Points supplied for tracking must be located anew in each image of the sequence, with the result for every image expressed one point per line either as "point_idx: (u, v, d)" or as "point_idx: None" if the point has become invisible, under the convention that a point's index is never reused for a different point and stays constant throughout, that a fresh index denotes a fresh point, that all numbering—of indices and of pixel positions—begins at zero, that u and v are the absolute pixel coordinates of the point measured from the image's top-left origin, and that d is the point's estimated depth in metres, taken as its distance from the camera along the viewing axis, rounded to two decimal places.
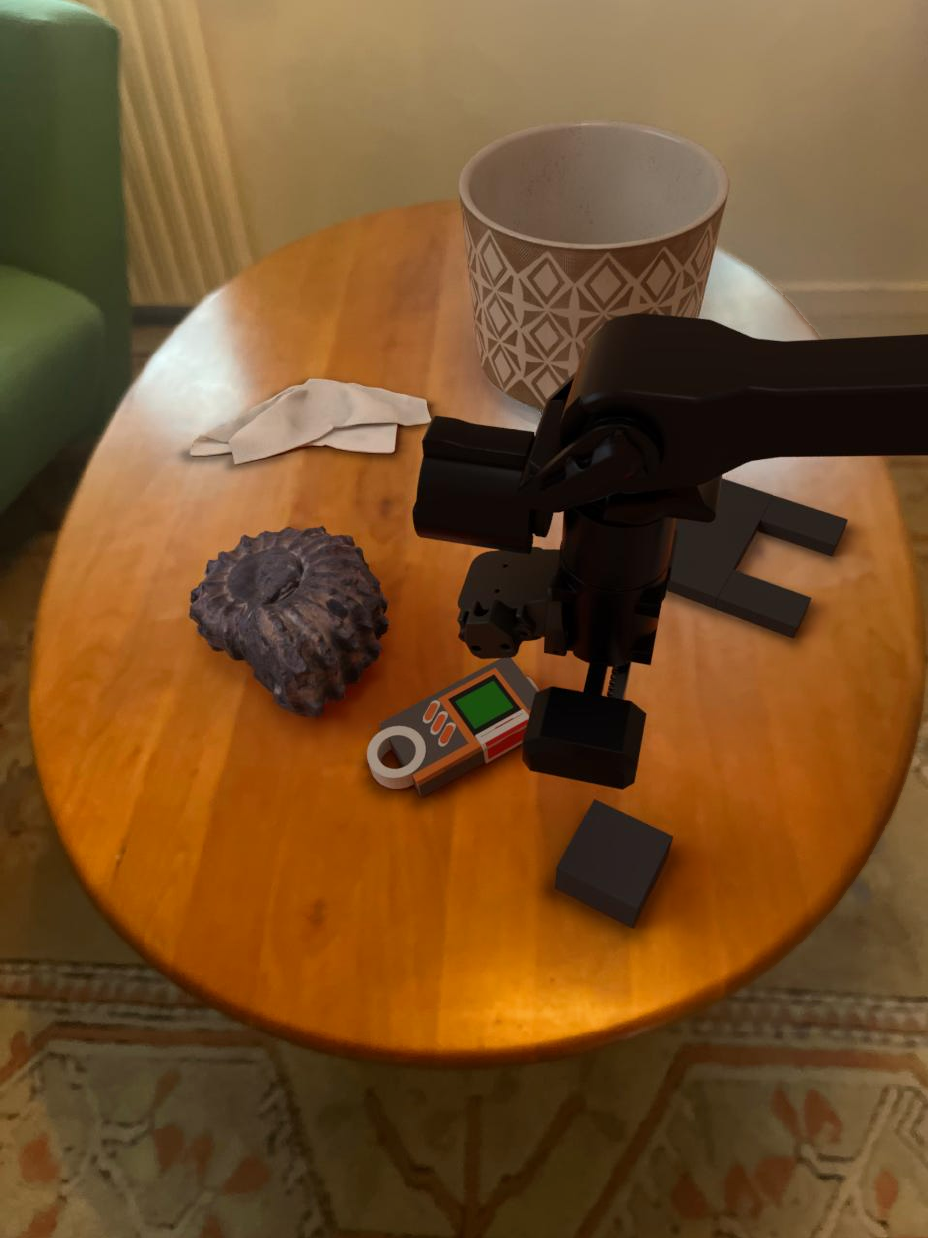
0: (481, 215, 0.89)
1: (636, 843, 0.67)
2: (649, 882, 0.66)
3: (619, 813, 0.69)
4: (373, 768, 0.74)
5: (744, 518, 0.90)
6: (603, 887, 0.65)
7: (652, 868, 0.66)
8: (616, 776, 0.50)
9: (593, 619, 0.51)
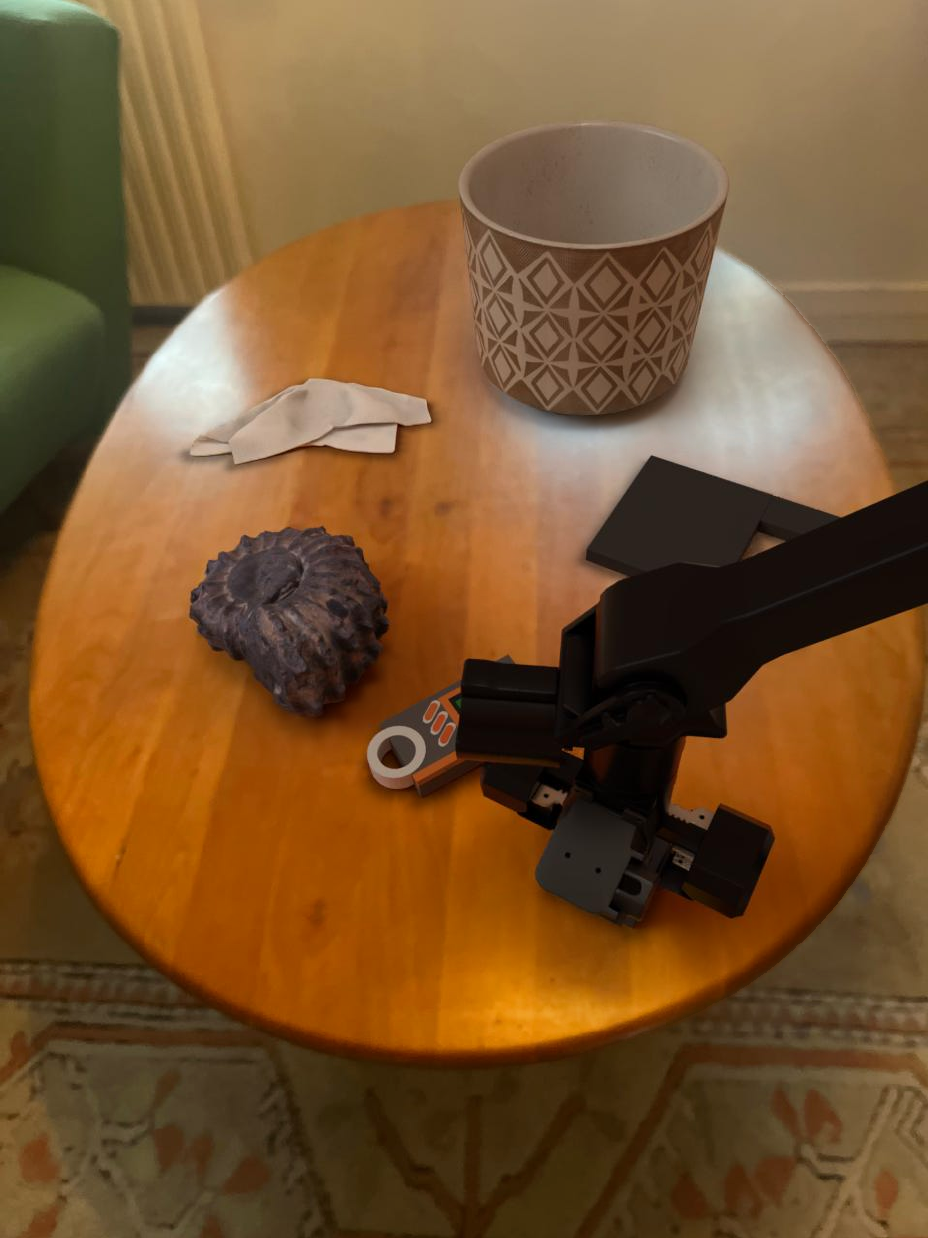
0: (481, 215, 0.89)
1: None
2: None
3: None
4: (373, 768, 0.74)
5: (744, 518, 0.90)
6: None
7: (652, 869, 0.66)
8: None
9: (667, 798, 0.58)
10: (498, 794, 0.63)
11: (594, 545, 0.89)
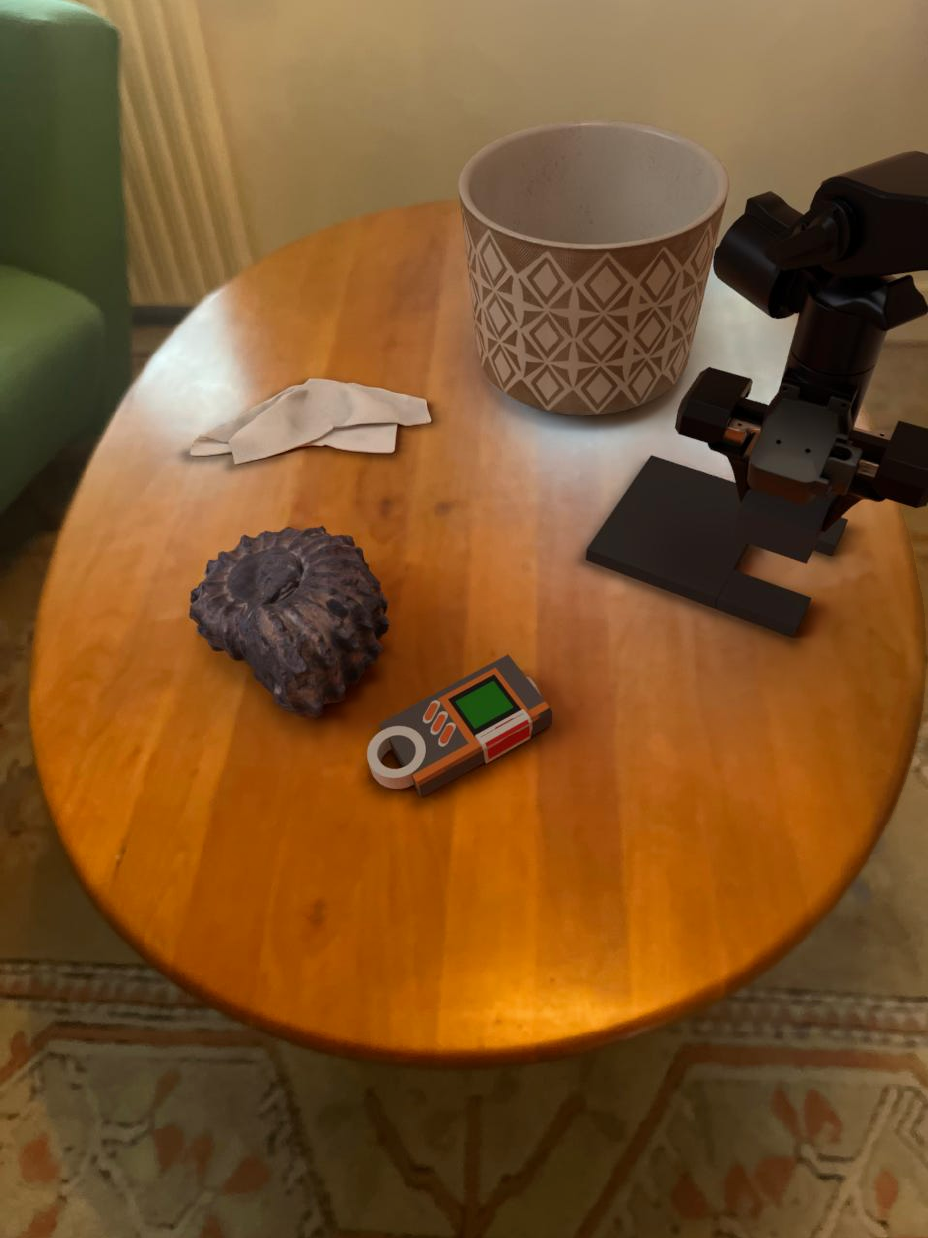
0: (481, 215, 0.89)
1: None
2: (824, 515, 0.73)
3: None
4: (373, 768, 0.74)
5: None
6: (783, 519, 0.73)
7: (825, 505, 0.74)
8: None
9: (863, 396, 0.65)
10: (696, 425, 0.71)
11: (594, 545, 0.89)
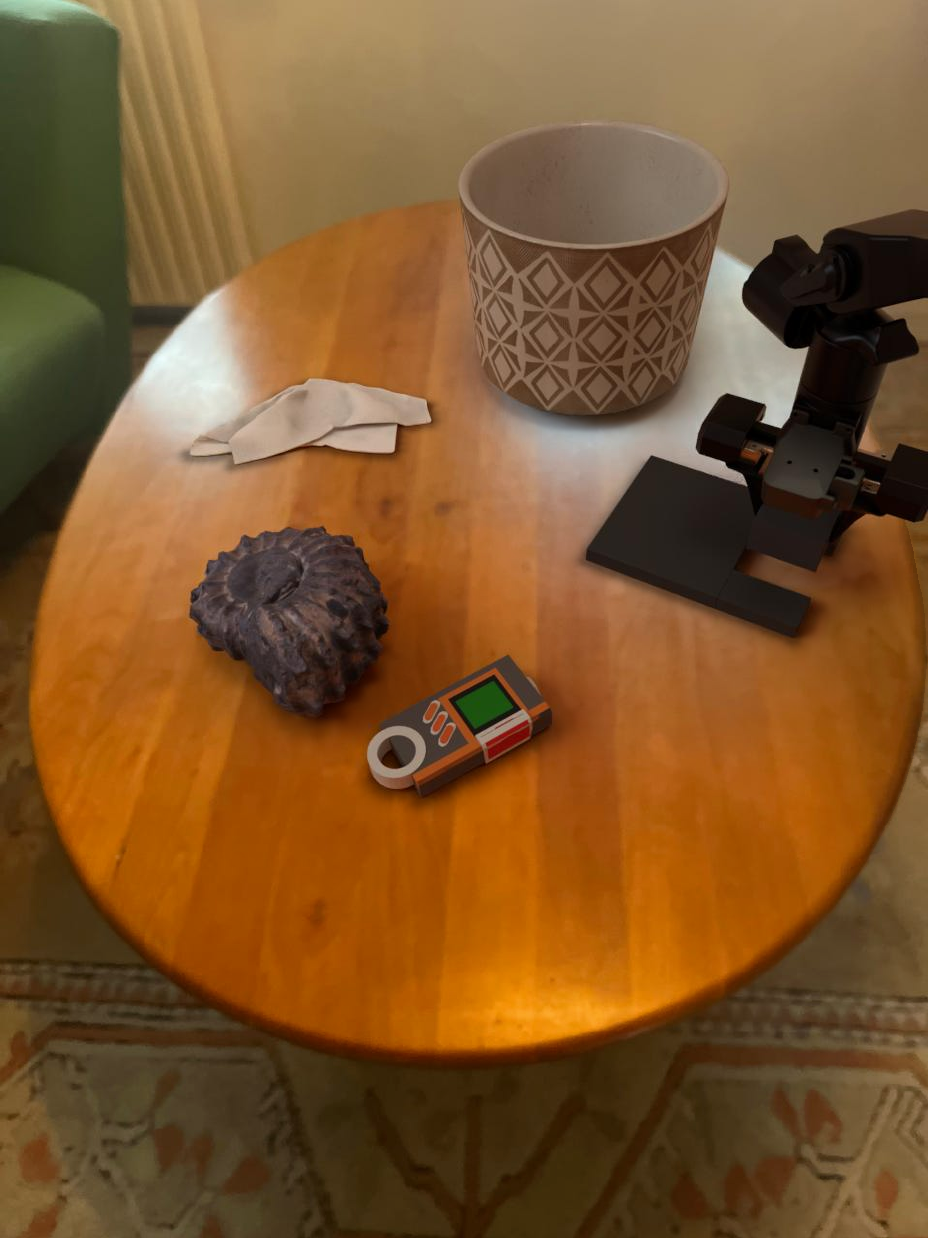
0: (481, 215, 0.89)
1: None
2: (831, 527, 0.81)
3: None
4: (373, 768, 0.74)
5: (744, 518, 0.90)
6: (794, 531, 0.81)
7: (832, 519, 0.81)
8: None
9: (866, 421, 0.73)
10: (714, 446, 0.79)
11: (594, 545, 0.89)
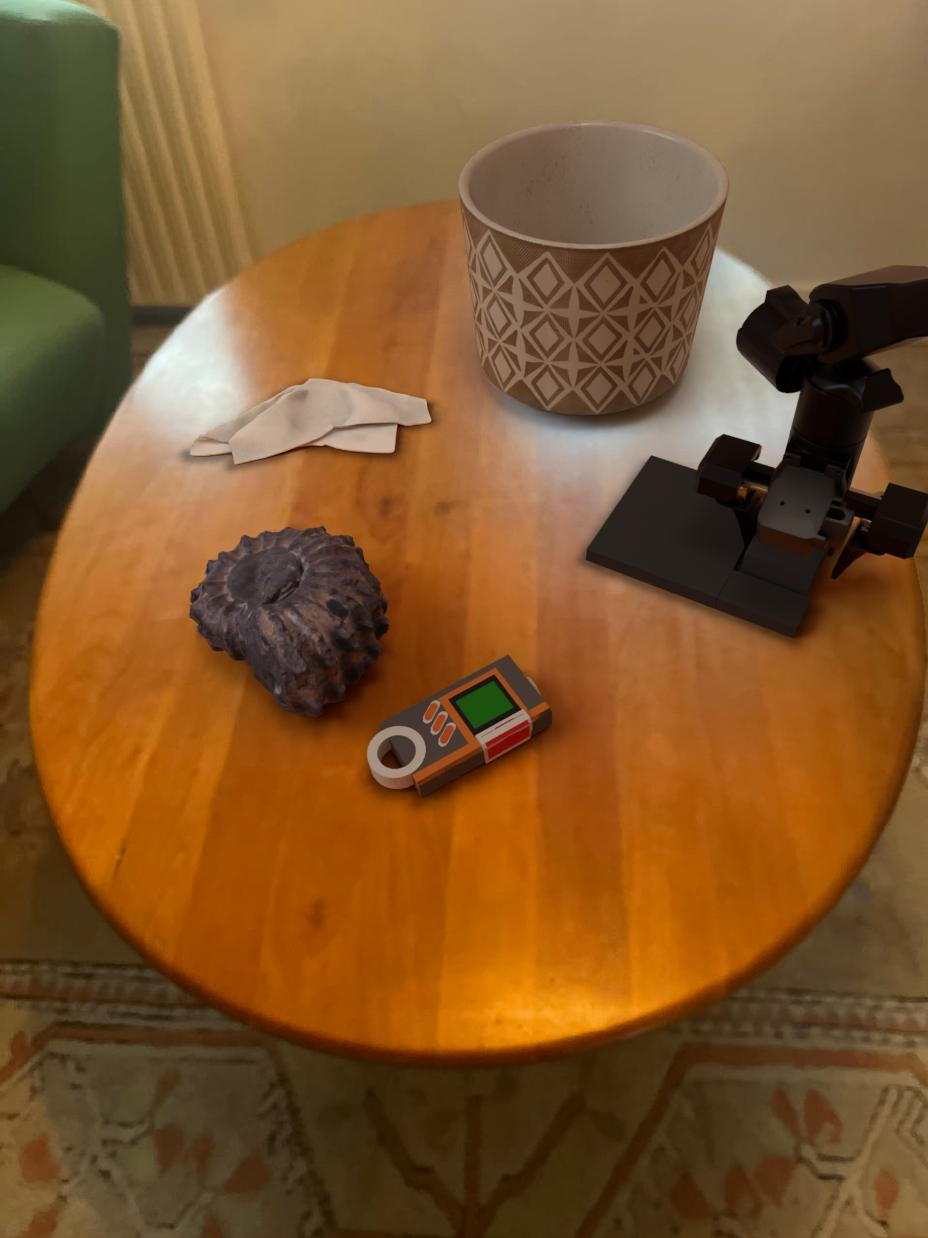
0: (481, 215, 0.89)
1: None
2: (820, 560, 0.84)
3: None
4: (373, 768, 0.74)
5: None
6: (784, 564, 0.84)
7: (821, 552, 0.84)
8: None
9: (856, 463, 0.76)
10: (712, 486, 0.82)
11: (594, 545, 0.89)
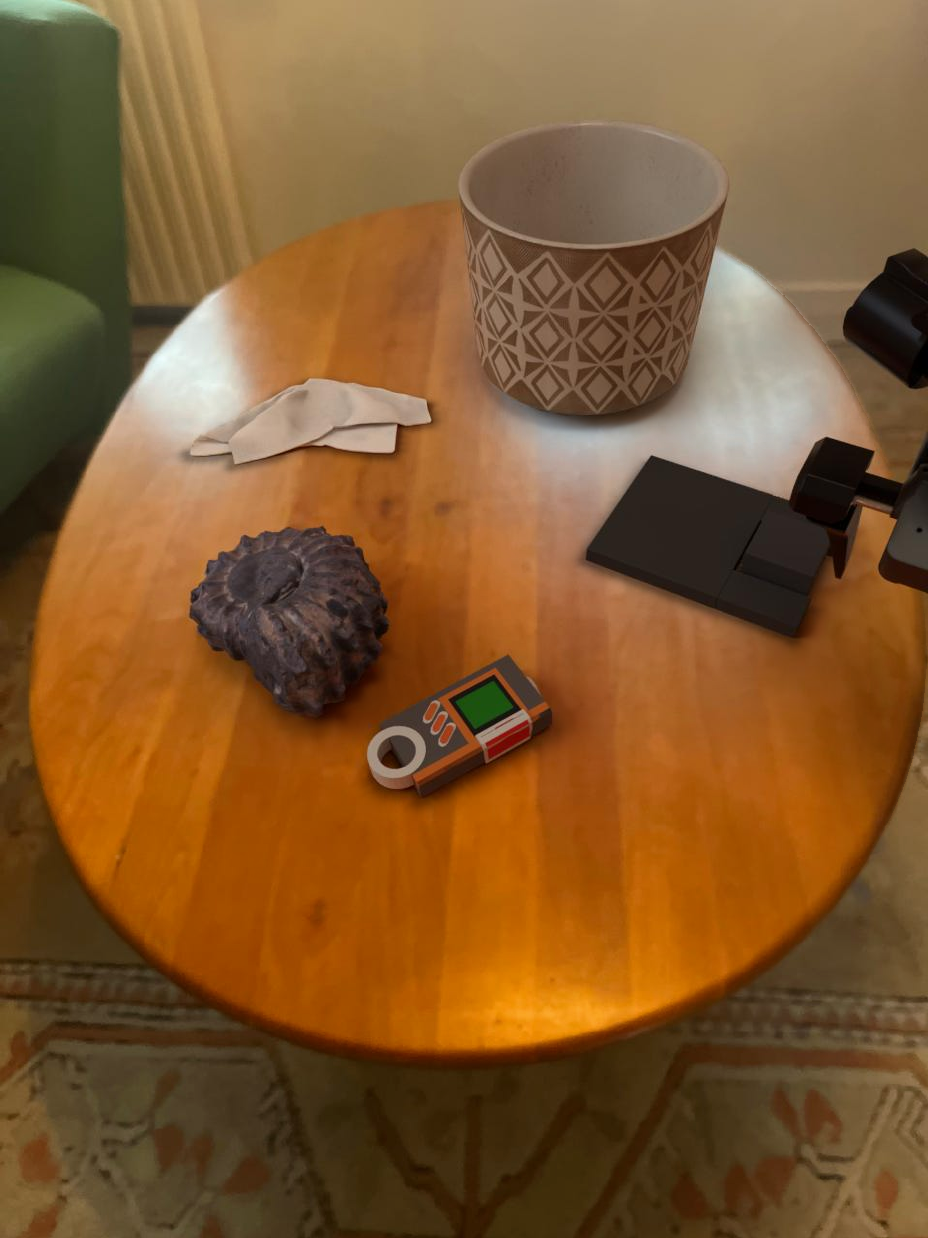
0: (481, 215, 0.89)
1: (806, 537, 0.86)
2: (820, 560, 0.84)
3: (789, 518, 0.87)
4: (373, 768, 0.74)
5: (744, 518, 0.90)
6: (784, 564, 0.84)
7: (821, 552, 0.84)
8: None
9: None
10: (814, 503, 0.64)
11: (594, 545, 0.89)
